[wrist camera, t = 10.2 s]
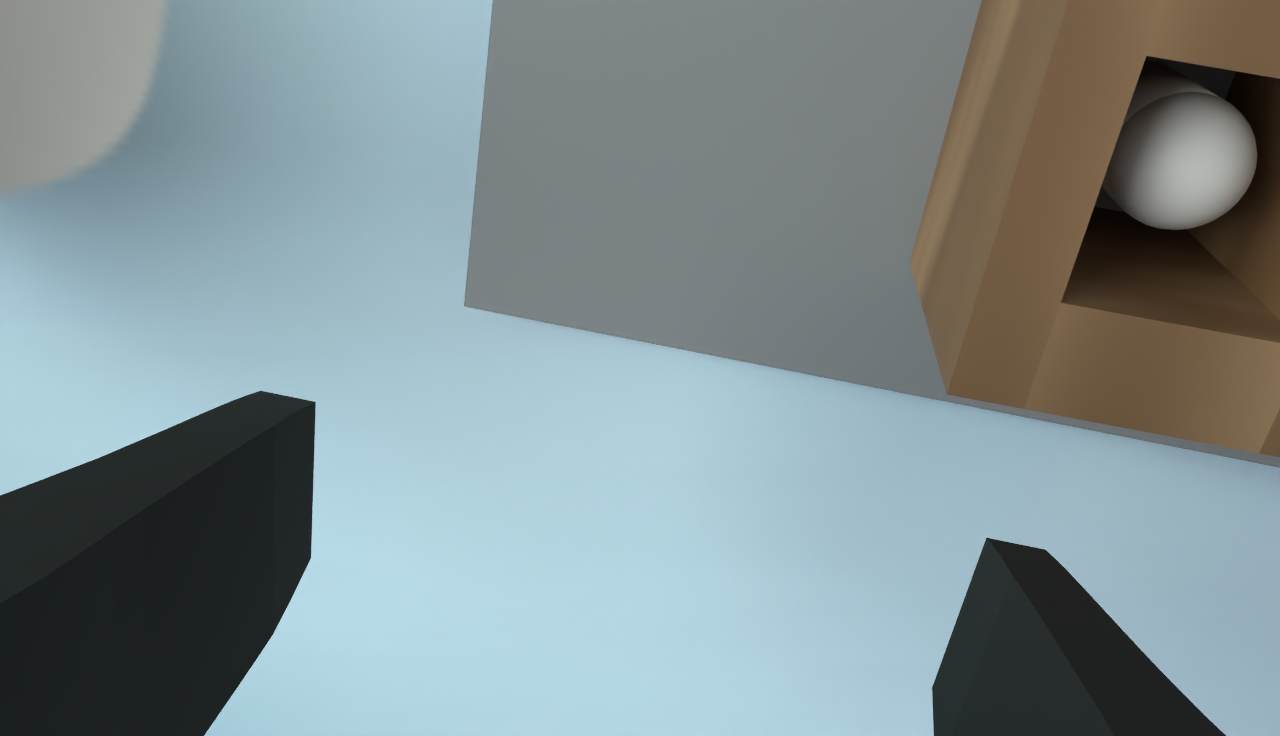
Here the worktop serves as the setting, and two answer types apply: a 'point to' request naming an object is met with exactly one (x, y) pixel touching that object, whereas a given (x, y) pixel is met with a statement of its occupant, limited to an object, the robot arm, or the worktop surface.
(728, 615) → the worktop surface
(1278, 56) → the collar
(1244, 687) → the worktop surface
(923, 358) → the hub board
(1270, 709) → the worktop surface
